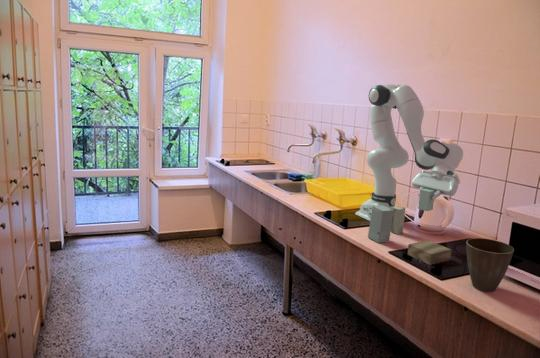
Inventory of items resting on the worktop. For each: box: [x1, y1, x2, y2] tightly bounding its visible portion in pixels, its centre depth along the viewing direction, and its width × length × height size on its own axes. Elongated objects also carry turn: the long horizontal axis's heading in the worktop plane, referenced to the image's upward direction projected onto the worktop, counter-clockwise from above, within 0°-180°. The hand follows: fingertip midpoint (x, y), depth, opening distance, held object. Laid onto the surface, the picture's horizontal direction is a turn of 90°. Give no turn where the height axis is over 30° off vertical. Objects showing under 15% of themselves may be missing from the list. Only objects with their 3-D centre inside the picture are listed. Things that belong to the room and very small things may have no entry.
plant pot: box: [465, 237, 515, 293], centre depth 147 cm, size 15×15×16 cm
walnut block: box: [407, 239, 452, 266], centre depth 173 cm, size 12×12×5 cm
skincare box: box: [367, 205, 394, 244], centre depth 191 cm, size 8×7×16 cm
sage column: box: [417, 188, 436, 212], centre depth 185 cm, size 4×4×9 cm
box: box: [390, 205, 406, 235], centre depth 202 cm, size 5×4×13 cm
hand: (425, 197), depth 185 cm, fingers closed on sage column, 4 cm apart
